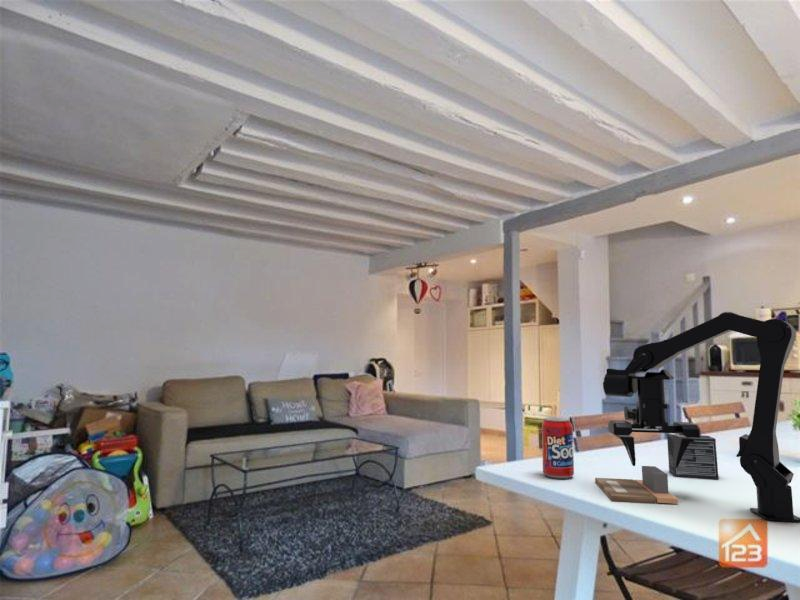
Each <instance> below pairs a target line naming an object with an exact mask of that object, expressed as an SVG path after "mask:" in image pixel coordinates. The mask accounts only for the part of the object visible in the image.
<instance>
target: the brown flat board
mask: <svg viewBox="0 0 800 600" xmlns="http://www.w3.org/2000/svg"><path fill="white" fill-rule="evenodd" d="M594 478H595V479H594V483H595V484H596V485H597V487H599V488H600V489H601V491H602V492H603V493H604V494H605V495H606V496H607V498H608V499H609V500H610V501H611V502H617V503H618V502H620V503H639V504H655V503H656V504H657V502H656V498H655V497H654V496H653V495H652V494H650V493H649V492H648V491H647V490H645V489H644V488H643V487H642V486H641V485H639V484H638V483H637V482H636V481H634V480H635V479H632V478H631V479H629V478H628V479H627V478H609V477H607V478H606V477H594Z"/></svg>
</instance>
